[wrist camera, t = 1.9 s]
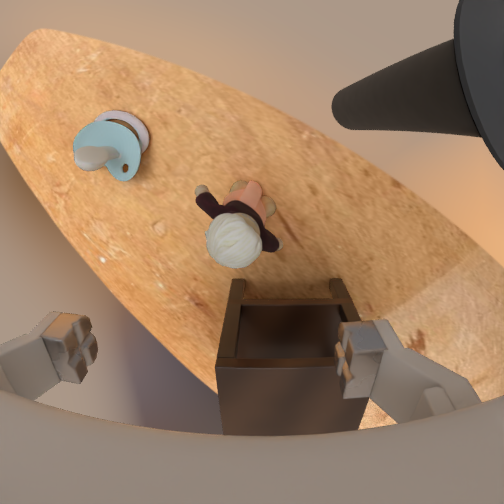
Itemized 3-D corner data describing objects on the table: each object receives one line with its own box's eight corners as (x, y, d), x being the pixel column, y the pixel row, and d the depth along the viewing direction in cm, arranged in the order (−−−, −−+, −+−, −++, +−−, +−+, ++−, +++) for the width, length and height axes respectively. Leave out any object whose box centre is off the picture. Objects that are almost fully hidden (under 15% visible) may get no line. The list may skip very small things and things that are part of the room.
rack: (341, 278, 31) (380, 362, 19) (330, 354, 35) (352, 444, 23) (232, 278, 31) (214, 366, 19) (235, 356, 35) (225, 448, 23)
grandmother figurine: (293, 197, 28) (314, 247, 16) (274, 234, 30) (281, 304, 18) (215, 162, 27) (179, 185, 15) (199, 200, 29) (155, 249, 17)
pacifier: (100, 102, 25) (80, 158, 27) (66, 96, 19) (44, 164, 21) (163, 126, 26) (139, 184, 28) (139, 123, 20) (111, 196, 22)
